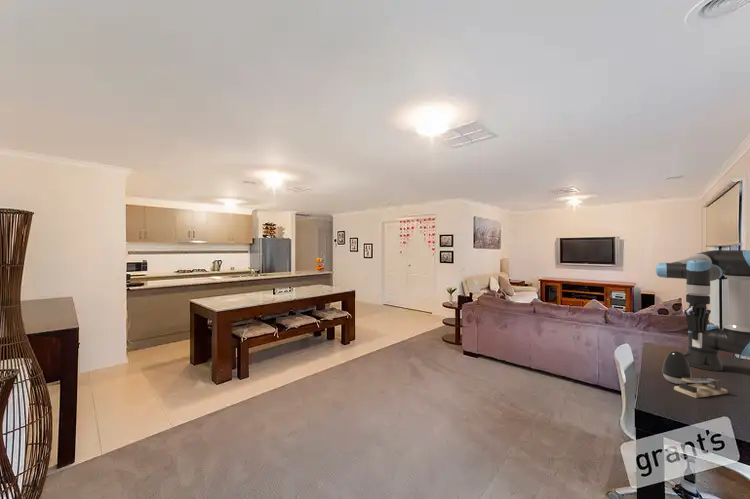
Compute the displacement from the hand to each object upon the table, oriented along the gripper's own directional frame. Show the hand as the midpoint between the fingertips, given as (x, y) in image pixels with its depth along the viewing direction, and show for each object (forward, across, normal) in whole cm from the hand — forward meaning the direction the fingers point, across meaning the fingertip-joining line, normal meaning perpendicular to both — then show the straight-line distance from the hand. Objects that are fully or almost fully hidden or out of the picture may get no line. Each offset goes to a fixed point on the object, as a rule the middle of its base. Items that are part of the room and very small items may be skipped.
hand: (696, 346), depth 140 cm
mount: (+20, -3, 0) cm, 20 cm away
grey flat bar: (+16, -2, 0) cm, 16 cm away
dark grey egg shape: (+21, -4, -10) cm, 23 cm away
